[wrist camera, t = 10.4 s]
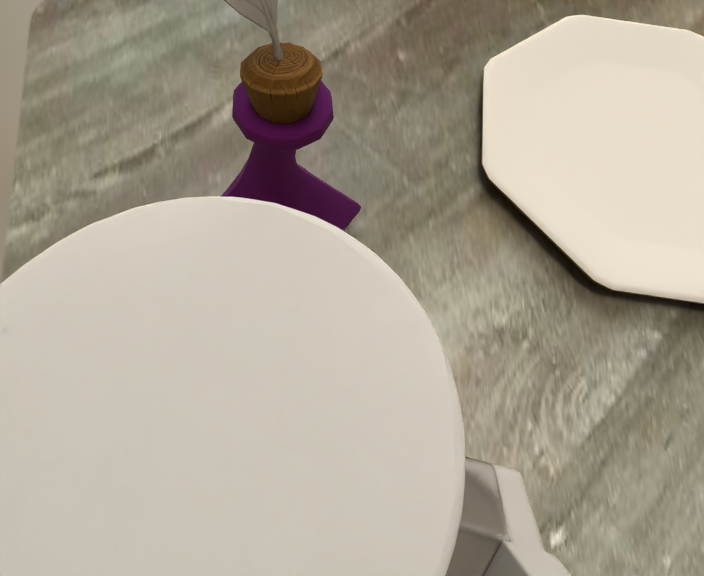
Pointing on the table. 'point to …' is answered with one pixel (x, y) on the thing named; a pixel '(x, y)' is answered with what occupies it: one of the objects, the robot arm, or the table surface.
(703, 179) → the plate
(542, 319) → the table surface
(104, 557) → the pill bottle
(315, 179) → the purple faceted vase
